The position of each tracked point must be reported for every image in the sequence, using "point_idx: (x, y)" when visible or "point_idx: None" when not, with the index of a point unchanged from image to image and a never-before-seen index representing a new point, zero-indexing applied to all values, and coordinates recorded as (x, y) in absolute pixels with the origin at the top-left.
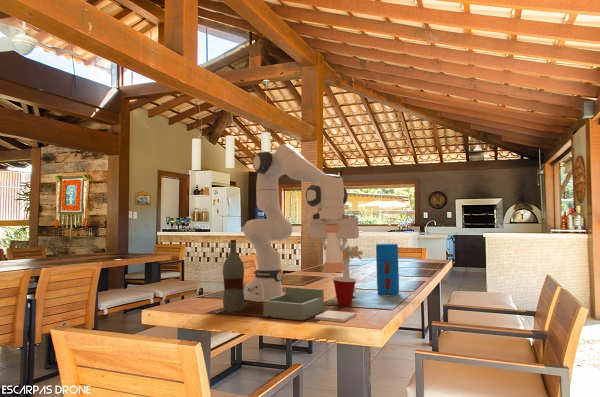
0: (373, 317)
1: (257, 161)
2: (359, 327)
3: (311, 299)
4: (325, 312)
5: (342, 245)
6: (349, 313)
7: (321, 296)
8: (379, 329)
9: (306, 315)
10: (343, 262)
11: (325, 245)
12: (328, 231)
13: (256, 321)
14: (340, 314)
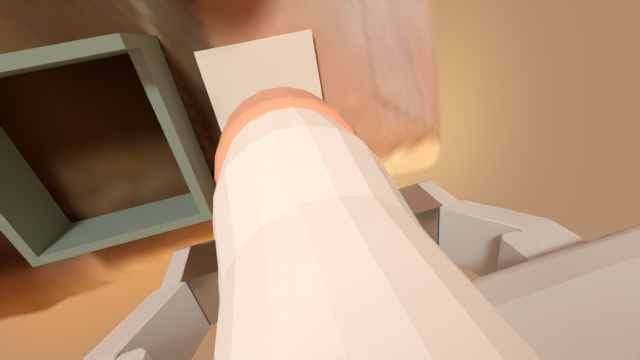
0: (373, 17)
1: None
2: (389, 154)
3: (79, 60)
4: (215, 92)
5: (456, 253)
6: (296, 51)
7: (132, 49)
8: (437, 140)
9: (209, 177)
10: (353, 129)
11: (201, 314)
12: None
13: (127, 277)
14: (280, 86)
